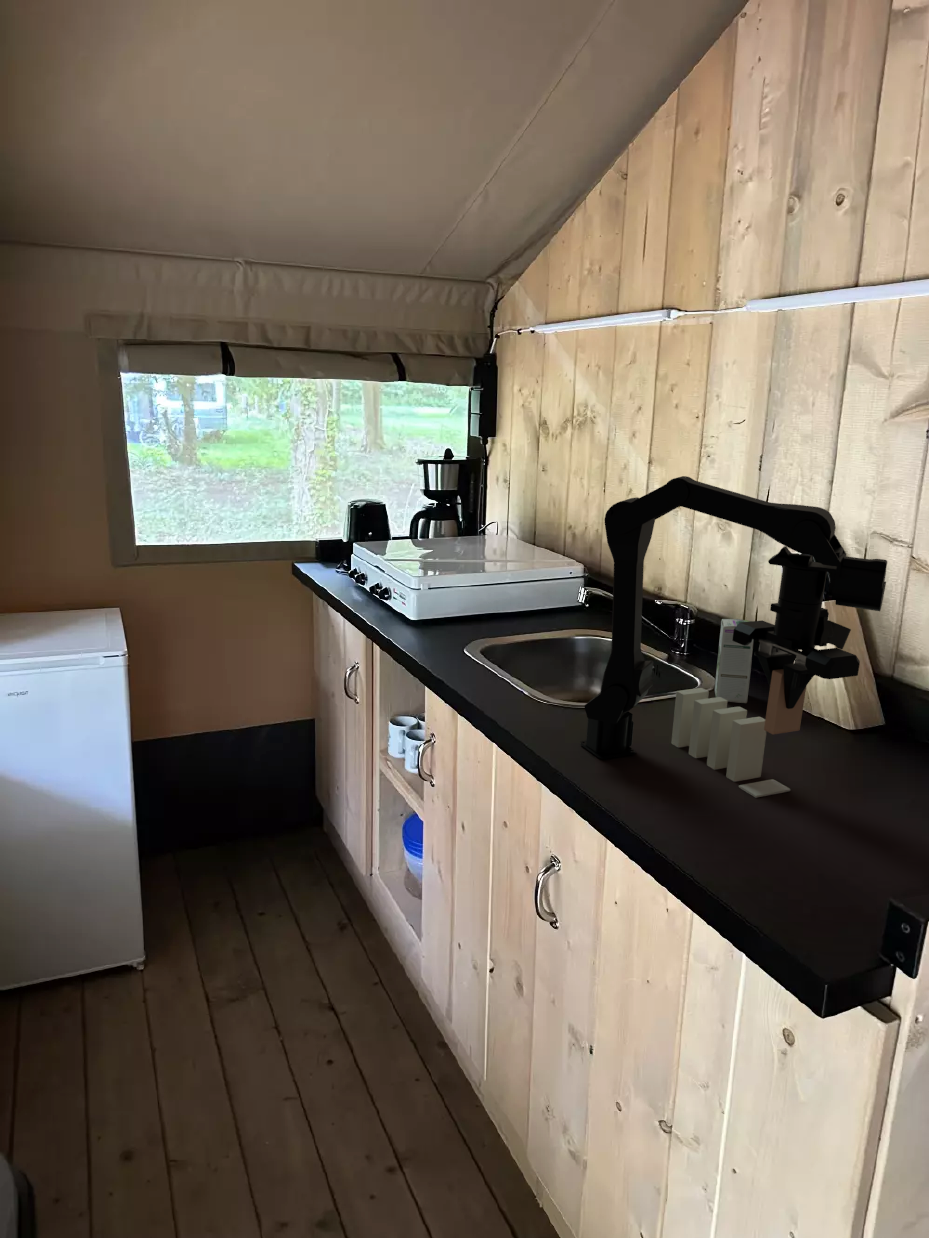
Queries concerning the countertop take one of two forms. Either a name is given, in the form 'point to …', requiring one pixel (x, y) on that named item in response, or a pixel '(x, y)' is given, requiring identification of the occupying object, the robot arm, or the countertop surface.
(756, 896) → the countertop surface
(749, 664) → the syrup box
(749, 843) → the countertop surface
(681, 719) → the domino
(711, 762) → the domino
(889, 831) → the countertop surface
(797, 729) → the domino
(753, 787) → the plate
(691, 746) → the domino
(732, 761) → the domino
